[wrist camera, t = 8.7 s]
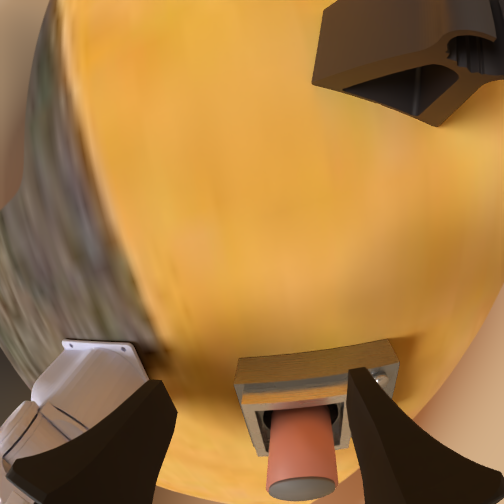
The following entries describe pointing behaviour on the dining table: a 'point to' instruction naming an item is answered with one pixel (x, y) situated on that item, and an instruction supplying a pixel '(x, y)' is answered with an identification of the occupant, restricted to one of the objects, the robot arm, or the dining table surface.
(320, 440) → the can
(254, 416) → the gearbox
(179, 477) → the dining table surface
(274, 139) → the dining table surface
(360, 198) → the dining table surface
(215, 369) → the dining table surface
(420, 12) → the phone stand
